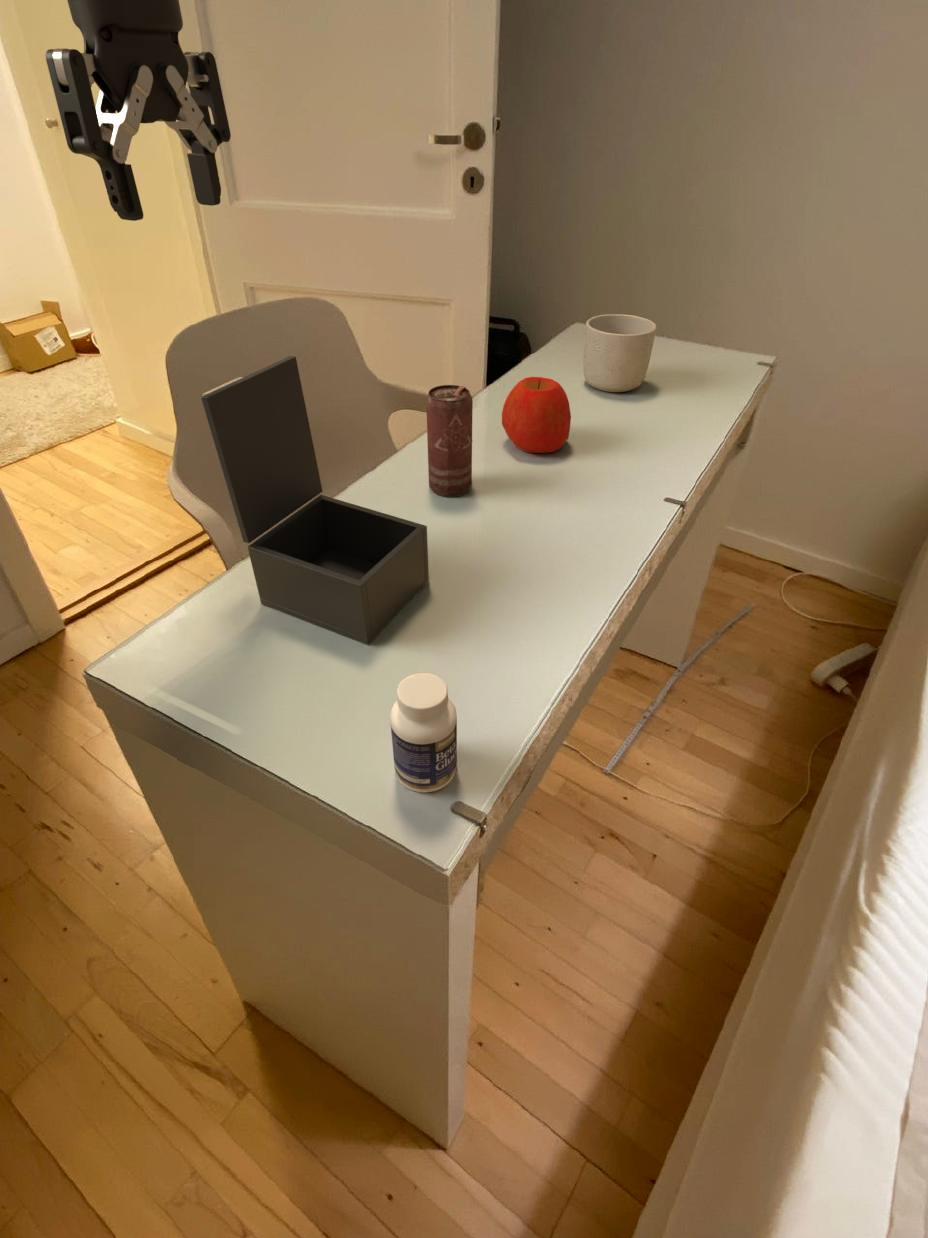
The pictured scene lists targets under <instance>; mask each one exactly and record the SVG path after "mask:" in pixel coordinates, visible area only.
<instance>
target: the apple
mask: <svg viewBox="0 0 928 1238" xmlns="http://www.w3.org/2000/svg"><path fill="white" fill-rule="evenodd" d="M571 422H572V415H571V407H570V401H569V398H568V395H567V392H566V391H565V389H564V387H562V385H561V384H560V383H559V382H558V381H556V380H554V379H553V378H549V377H542V376H529V377H524V378H522V379H521V380H520V381H518V382H517V383H516V384H515V385H514V386H513V387H512V389H511V390H509V393H508V395H507V397H506V399H505V401H504V403H503V407H502V411H501V425H502V427H503V429H504V431H505V433H506V436H507V437H508V439H509V440H510V442H512V444H513V445H514V446H515V447H516V448H518V449H520V450H521V451H523V452H526V453H531V454H533V453H534V454H545V453H554V452H556V451H558V450H559V449H561V448H562V447H563V446H564V445H565V443H566V442H567V440H568V439H569V434H570V430H571Z"/></svg>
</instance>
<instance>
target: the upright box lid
mask: <svg viewBox="0 0 928 1238" xmlns="http://www.w3.org/2000/svg"><path fill="white" fill-rule="evenodd" d="M200 399H201V402H202V405H203V409H204V413H205V416H206V419H207V423H208V426H209V429H210V433H211V436H212V440H213V443H214V447H215V450H216V453H217V456H218V460H219V463H220V467H221V471H222V474H223V478H224V480H225V484H226V487H227V490H228V495H229V497H230V501H231V504H232V508H233V511H234V515H235V517H236V522H237V524H238V528H239V531H240V535H241V538H242V542H243V543H246V544H251V543H253V542H254V541H256V540H257V539H258V538H260V537H261V536H263V535H264V534H265V533H267V532H268V531H270V530H271V529H273V528H274V527H275V526H277V525H278V524H280V523H281V522H283V521H284V520H285V519H287V518H288V517H290V516H291V515H292V514H294V513H295V512H297V511H298V510H300V509H301V508H302V507H304V506H305V505H307V504H308V503H309V502H311V501H312V500H314V499H315V498H317V497H318V496H319V495H321V493H323V491H324V490H323V486H322V481H321V476H320V471H319V466H318V461H317V457H316V452H315V447H314V441H313V436H312V430H311V427H310V421H309V415H308V411H307V406H306V402H305V401H306V400H305V396H304V391H303V386H302V382H301V375H300V372H299V367H298V360H297V356H293V355H289V356H287V357H285V358H282V359H280V360H278V361H276V362H274V363H271V364H269V365H267V366H265V367H263V368H260V369H258V370H256V371H254V372H252V373H250V374H248V375H246V376H243V377H240V376H239V377H236V378H234V379H232V380H230V381H228V382H225V383H223V384H221V385H219V386H217V387H215V388H212V389H210V390H208V391H206V392H203V393H202V396H201V397H200Z"/></svg>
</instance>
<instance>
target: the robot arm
mask: <svg viewBox="0 0 928 1238" xmlns="http://www.w3.org/2000/svg"><path fill="white" fill-rule="evenodd" d="M66 1H67V5H68V8H69V12H70V15H71V16H70V17H71V19H72V22H73V24H74V25H75V26H76V27H77V28H78V29H79V31H80V33H81V35H82V38H83V52H80V50H78V49H76V48H50V49H48V50H46V52H45V62H46V66H47V69H48V73H49V78H50V82H51V86H52V89H53V93H54V97H55V102H56V105H57V110H58V113H59V117H60V121H61V125H62V129H63V133H64V136H65V141H66V145H67V147H68V149H69V151H70V152H71V153H73V154H75V155H82V156H85V157H88V158H90V159H93V160H94V161H95V162H96V163H97V164H98V166H99V168H100V171H101V175H102V179H103V182H104V186H105V189H106V193H107V196H108V201H109V204H110V206H111V208H112V210H113V212H115V213H116V214H117V216H118V218H119V219H121V220H124V221H132V222H134V221H141V220H143V219H144V210H143V206H142V202H141V199H140V195H139V190H138V188H137V187H138V186H137V183H136V179H135V175H134V171H133V166H132V164H130V163H126V162H127V158H128V155H129V151H130V147H131V143H132V139H133V137H134V136H135V135H137V134H138V132H139V131H140V130H139V129H140V126H141V124H155V123H156V122H164V123H165V125H167V127H169V128H170V129H171V130H173V131H174V132H175V133H176V134H177V136H178V137H179V138H180V140H181V141H182V143H183V144H184V145H185V147H186V148H187V149H188V151H190V152H191V153H186V156H187V161H188V166H189V170H190V175H191V179H192V184H193V189H194V194H195V199H196V201H197V203H198V204H199V205H204V206H213V207H214V206H218V205H220V204H221V201H222V200H221V199H222V198H221V196H222V186H221V182H220V175H219V169H218V164H217V159H216V152H217V149H218V147H219V146H220V145H221V144H223V143H228V142H230V140H231V137H232V136H231V130H230V123H229V119H228V115H227V110H226V109H227V108H226V106H225V105H226V104H225V99H224V95H223V90H222V86H221V81H220V76H219V71H218V66H217V61H216V58H215V56H214V54H213V53H212V52H210V51H185V52H184V51H183V49H182V46H181V44H180V40H179V33H180V32H181V31H182V29H183V27H184V21H183V16H182V11H181V5H180V0H66ZM94 83H95V84H96V86H97V87H98V89H99V92H98V96H97V100H96V103H95V99H94V95H93V91H92V86H93V85H94ZM187 85H188V88H187V87H186V86H187ZM188 89H189V90H188ZM209 109H210V110H209ZM210 111H211V114H210ZM211 115H212V120H213V123H212V120H211Z"/></svg>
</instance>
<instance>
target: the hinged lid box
mask: <svg viewBox="0 0 928 1238" xmlns="http://www.w3.org/2000/svg"><path fill="white" fill-rule="evenodd" d="M428 545H429V544H428V526H427V525H425V524H422V523H419V522H414V521H411V520H408V519H405V518H401V517H398V516H395V515H392V514H387V513H384V512H381V511H377V510H374V509H371V508H367V507H364V506H361V505H357V504H354V503H350V502H348V501H344V500H341V499H338V498H334V497H330V496H327V495H323V494H318V495H317V496H316V497H314V498H313V499H312V500H310V501H309V502H307V503H306V504H304V505H303V506H302V507H300V508H299V509H297V510H296V511H295V512H293V513H292V514H290V515H289V516H287V517H286V518H285V519H283V520H282V521H280V522H279V523H278V524H276V525H275V526H273V527H272V528H271V529H269V530H268V531H266V532H265V533H263V534H262V535H261V536H259V537H258V538H256V539H255V540H254V541H252V542H251V543H249V545H247V550H248V555H249V560H250V563H251V567H252V571H253V575H254V579H255V583H256V588H257V593H258V596H259V601H260V605H263V606H265V607H267V608H270V609H273V610H275V611H278V612H281V613H283V614H286V615H287V616H288V615H289V616H291V617H293V618H295V619H299V620H301V621H304V622H307V623H309V624H312V625H315V626H317V627H319V628H321V629H325V630H327V631H330V632H332V633H335V634H338V635H340V636H343V637H345V638H348V639H351V640H354V641H356V642H359V643H361V644H364V645H367V646H369V645H370V644H371V643H372V642H373V641H374V640H375V639H376V638H377V637H378V636H379V635H380V634H381V632H382V631H383V630H384V629H385V628H387V626H389V625H390V623H391V622H392V621H393V620H395V618H396V617H397V616H398V615H399V614H400V613H401V612H402V611H403V610H404V609H405V608H406V607H407V606H409V604H410V603H411V602H412V600H414V599H415V598H416V596H418V595H419V594H420V593H421V592H422V591H423V589H424V588H425V587H426V586H428V584H429V583H430V576H429V575H430V574H429V573H430V571H429V549H428V548H429V546H428Z"/></svg>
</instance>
